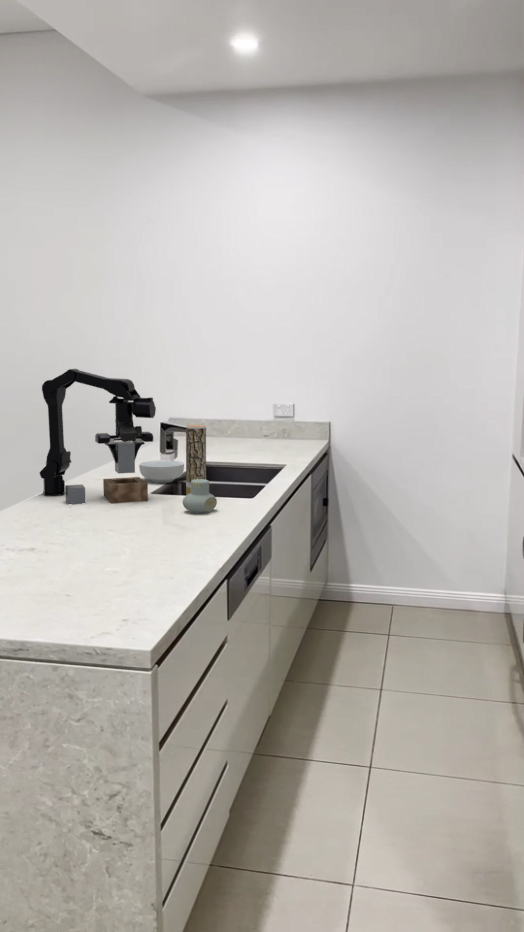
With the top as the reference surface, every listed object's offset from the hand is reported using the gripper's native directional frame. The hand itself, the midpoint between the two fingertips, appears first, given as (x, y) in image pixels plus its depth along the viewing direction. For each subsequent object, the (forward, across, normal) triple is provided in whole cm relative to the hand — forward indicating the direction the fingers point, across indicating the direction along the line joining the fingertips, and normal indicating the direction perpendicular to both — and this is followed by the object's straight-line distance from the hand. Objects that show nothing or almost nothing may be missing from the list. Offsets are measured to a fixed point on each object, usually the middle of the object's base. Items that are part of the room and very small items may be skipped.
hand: (124, 462), depth 273 cm
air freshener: (+12, +18, -27) cm, 35 cm away
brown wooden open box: (+12, 0, 0) cm, 12 cm away
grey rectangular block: (+3, 0, 0) cm, 3 cm away
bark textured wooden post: (+12, +23, -7) cm, 27 cm away
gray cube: (+12, -17, -1) cm, 21 cm away
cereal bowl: (+13, +20, +27) cm, 36 cm away
